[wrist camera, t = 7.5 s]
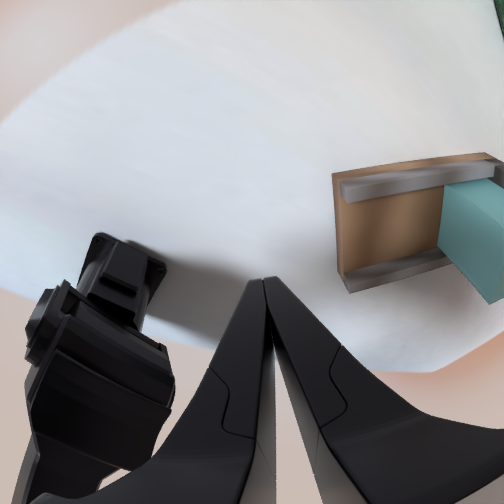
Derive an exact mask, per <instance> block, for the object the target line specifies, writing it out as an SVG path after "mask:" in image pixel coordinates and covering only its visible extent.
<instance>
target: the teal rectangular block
mask: <svg viewBox="0 0 504 504" xmlns="http://www.w3.org/2000/svg"><path fill="white" fill-rule="evenodd" d="M437 246H438V247H439V248H440V249H441V250H442V251H443V252H444V254H445V255H446V256H447V257H448V258H449V259H450V260H451V261H452V262H453V263H454V264H455V265H456V267H457V268H458V269H459V270H460V271H461V272H462V273H463V274H464V275H465V277H466V278H467V279H468V280H469V281H470V282H471V284H472V285H473V286H474V287H475V288H476V289H477V291H478V292H479V293H480V294H481V295H482V297H483V298H484V299H485V300H486V302H487V303H488V304H489V305H490V304H492V303H494V302H496V301H498V300H500V299H502V298H504V189H503V188H501V187H500V186H498V185H497V184H495V183H494V182H492V181H490V180H489V179H487V178H482V179H476V180H470V181H464V182H458V183H453V184H447V185H444V196H443V206H442V214H441V222H440V229H439V236H438V243H437Z"/></svg>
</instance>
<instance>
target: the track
mask: <svg viewBox="0 0 504 504" xmlns="http://www.w3.org/2000/svg"><path fill="white" fill-rule="evenodd" d="M482 178H487V179H489V180H490V181H492V182H494V183H495V184H497V185H498V186H500V187H501V188H503V189H504V162H502V161H500V160H498V159H496V158H494V157H493V156H491V155H489V154H487V153H474V154H464V155H455V156H446V157H438V158H430V159H422V160H414V161H407V162H400V163H393V164H386V165H380V166H374V167H367V168H361V169H355V170H349V171H344V172H338V173H332V184H333V196H334V209H335V224H336V242H337V266H338V273H339V275H340V277H341V279H342V281H343V282H344V284H345V286H346V288H347V290H348V292H349V294H350V293H354V292H358V291H361V290H365V289H369V288H372V287H376V286H379V285H383V284H386V283H390V282H393V281H397V280H400V279H404V278H407V277H410V276H414V275H417V274H420V273H423V272H427V271H430V270H433V269H436V268H439V267H442V266H445V265H448V264H451V263H453V262H452V261H451V260H450V259H449V258H448V257H447V256H446V255H445V254H444V252H443V251H442V250H441V249H440V248H439V247H438V246H437V243H438V236H439V229H440V222H441V214H442V206H443V196H444V185H447V184H453V183H458V182H464V181H470V180H476V179H482Z"/></svg>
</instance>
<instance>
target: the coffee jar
mask: <svg viewBox="0 0 504 504" xmlns="http://www.w3.org/2000/svg"><path fill="white" fill-rule="evenodd" d="M495 3H496V8H497V12H498V16H499V19H500V23H501V27H502V30H503V34H504V0H495Z"/></svg>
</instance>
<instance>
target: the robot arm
mask: <svg viewBox="0 0 504 504" xmlns="http://www.w3.org/2000/svg"><path fill="white" fill-rule="evenodd" d="M97 238H99V239H100V240H101V241H98V240H97ZM158 268H162V269H163V270H159V269H158ZM166 272H167V266H166V264H164V263H162V262H160V261H158V260H156V259H154V258H152V257H149V256H147V255H146V254H144V253H142V252H140V251H138V250H136V249H134V248H132V247H130V246H127V245H125V244H123V243H121V242H118V241H116V240H114V239H112V238H110V237H108V236H106V235H104V234H102V233H96V234H95V235H94V236H93V238H92V241H91V244H90V246H89V249H88V252H87V255H86V258H85V261H84V264H83V267H82V271H81V274H80V277H79V280H78V284H77V288H76V289H75V288H73V287H72V286H70V283H69V282H68V281H66V280H65V279H64V280H63V282H62V283H61V285H60V286H58V285H57V286H56V288H54V289H45V291H44V292H43V294H42V296H41V298H40V300H39V301H38V303H37V305H36V307H35V309H34V311H33V313H32V315H31V317H30V319H29V321H28V323H27V325H26V327H25V331H26V335H27V339H28V342H27V345H26V347H27V351H26V354H25V360H27V361H28V362H30V363H31V364H32V366H31V368H30V370H29V373H28V375H27V378H26V380H25V396H26V403H27V410H28V416H29V421H30V426H31V431H32V435H31V438H30V441H29V444H28V447H27V451H26V453H25V456H24V460H23V463H22V466H21V469H20V473H19V476H18V480H17V484H16V487H15V491H14V495H13V499H12V503H11V504H276V411H275V410H276V408H275V357H274V348H275V352H276V356H277V359H278V362H279V365H280V369H281V372H282V375H283V378H284V381H285V385H286V388H287V391H288V394H289V397H290V401H291V403H292V407H293V410H294V413H295V417H296V420H297V423H298V426H299V429H300V432H301V436H302V439H303V442H304V445H305V448H306V451H307V455H308V458H309V461H310V464H311V467H312V470H313V474H314V477H315V480H316V483H317V486H318V489H319V492H320V496H321V499H322V502H323V504H504V429H491V428H485V427H480V426H475V425H470V424H465V423H460V422H456V421H451V420H447V419H443V418H438V417H435V416H431V415H429V414H426V413H424V412H422V411H420V410H418V409H417V408H415V407H414V406H412V405H411V404H410V403H408V402H407V401H406V400H405V399H403V398H402V397H401V396H399V395H398V394H397V393H396V392H394V391H393V390H392V389H391V388H389V387H388V386H387V385H386V384H384V383H383V382H382V381H381V380H379V379H378V378H377V377H376V376H375V375H373V374H372V373H371V372H370V371H369V370H367V369H366V368H365V367H364V366H363V365H362V364H361V363H360V362H359V361H358V360H357V359H356V358H355V357H354V356H353V355H352V354H351V353H350V352H349V351H348V350H347V349H346V348H345V347H344V346H343V345H342V346H341V343H340V342H339V341H338V340H337V339H336V338H335V337H334V336H333V334H332V333H331V332H330V331H329V330H328V329H327V328H326V327H325V326H324V325H323V324H322V323H321V322H320V321H319V320H318V319H317V318H316V317H315V316H314V314H313V313H312V312H311V311H310V310H309V309H308V308H307V307H306V306H305V305H304V304H303V303H302V302H301V301H300V300H299V299H298V298H297V297H296V295H295V294H294V293H293V292H292V291H291V290H290V289H289V288H288V287H287V286H286V285H285V284H284V283H283V282H282V281H281V280H280V279H279V278H278V277H277V276H272V277H266V278H264V279H263V280H262V279H254V280H249V281H248V282H247V285H246V287H245V289H244V291H243V293H242V295H241V298H240V300H239V302H238V304H237V306H236V308H235V311H234V313H233V315H232V317H231V319H230V321H229V324H228V326H227V328H226V330H225V332H224V334H223V336H222V339H221V341H220V343H219V345H218V347H217V349H216V352H215V354H214V356H213V358H212V360H211V362H210V364H209V368H208V369H207V371H206V373H205V375H204V377H203V379H202V381H201V383H200V385H199V387H198V389H197V391H196V393H195V395H194V396H193V398H192V400H191V401H190V403H189V405H188V406H187V408H186V409H185V411H184V412H183V414H182V415H181V417H180V419H179V420H178V422H177V423H176V425H175V426H174V428H173V429H172V431H171V432H170V434H169V435H168V437H167V438H166V440H165V441H164V443H163V444H162V446H161V447H160V449H159V450H158V451H157V452H156V453H155V455H153V456H152V452H153V449H154V445H155V442H156V439H157V436H158V434H159V432H160V430H161V428H162V426H163V424H164V422H165V421H166V420H167V418H168V417H169V415H170V414H171V411H172V410H171V409H170V408H171V406H172V403H173V401H174V396H175V378H174V375H173V373H172V369H171V365H170V361H169V357H168V352H167V348H166V346H165V345H163V344H161V343H157V342H155V341H154V340H152V339H150V338H149V337H147V336H145V335H144V334H142V333H141V332H142V327H143V322H144V317H145V312H146V308H147V306H148V304H149V302H150V300H151V299H152V297H153V295H154V293H155V292H156V290H157V288H158V286H159V285H160V283H161V281H162V279H163V278H164V276H165V274H166ZM263 283H264V284H263ZM269 319H270V320H269ZM270 325H271V326H270ZM271 331H272V332H271ZM272 337H273V338H272ZM273 343H274V345H273ZM151 456H152V457H151ZM120 469H124V470H128V471H131V472H130V473H128V474H127V475H125V476H123V477H121V478H120V479H118V480H116V481H115V482H113V483H111V484H109V485H108V486H106V487H104V488H102V489H100V490H98V489H99V487H100V484H101V482H102V480H103V479H105V478H107V477H108V476H110V475H112V474H113V473H115V472H116V471H118V470H120Z"/></svg>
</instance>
